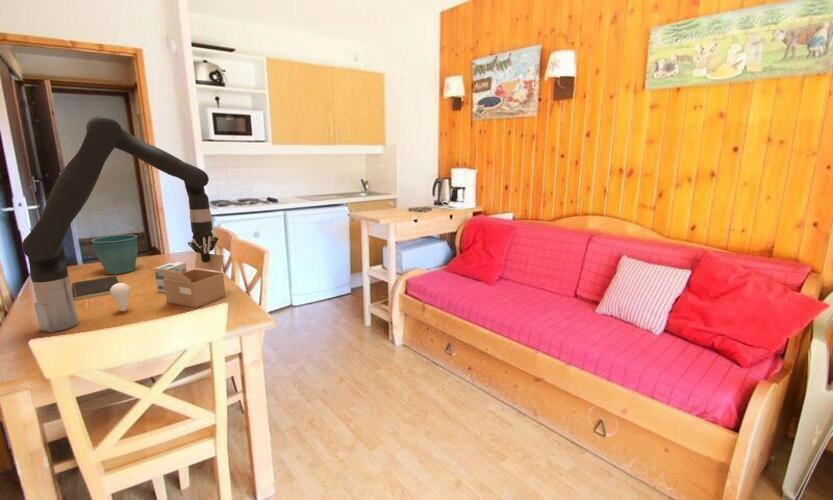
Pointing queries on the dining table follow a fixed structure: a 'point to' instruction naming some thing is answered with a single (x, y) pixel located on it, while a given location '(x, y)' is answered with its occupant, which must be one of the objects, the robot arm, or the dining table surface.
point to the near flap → (171, 274)
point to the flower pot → (117, 253)
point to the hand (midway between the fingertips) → (205, 262)
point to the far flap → (210, 262)
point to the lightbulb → (120, 295)
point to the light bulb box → (170, 266)
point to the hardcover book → (93, 287)
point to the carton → (195, 288)
